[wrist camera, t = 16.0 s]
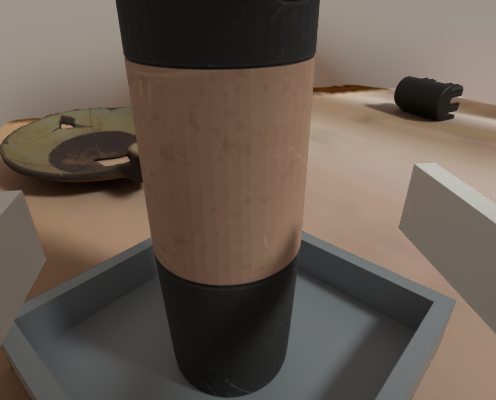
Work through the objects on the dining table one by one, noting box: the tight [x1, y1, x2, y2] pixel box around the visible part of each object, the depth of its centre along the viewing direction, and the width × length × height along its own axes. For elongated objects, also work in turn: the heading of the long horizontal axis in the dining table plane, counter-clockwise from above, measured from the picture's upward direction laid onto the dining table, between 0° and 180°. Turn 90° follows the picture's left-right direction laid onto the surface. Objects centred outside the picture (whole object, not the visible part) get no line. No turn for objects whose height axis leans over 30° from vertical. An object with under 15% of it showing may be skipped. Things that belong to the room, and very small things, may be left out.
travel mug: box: [116, 0, 320, 398], centre depth 18 cm, size 8×8×20 cm
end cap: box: [394, 76, 463, 121], centre depth 70 cm, size 10×7×7 cm
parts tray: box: [1, 231, 456, 400], centre depth 23 cm, size 20×20×4 cm
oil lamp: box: [0, 107, 143, 183], centre depth 47 cm, size 22×30×8 cm
